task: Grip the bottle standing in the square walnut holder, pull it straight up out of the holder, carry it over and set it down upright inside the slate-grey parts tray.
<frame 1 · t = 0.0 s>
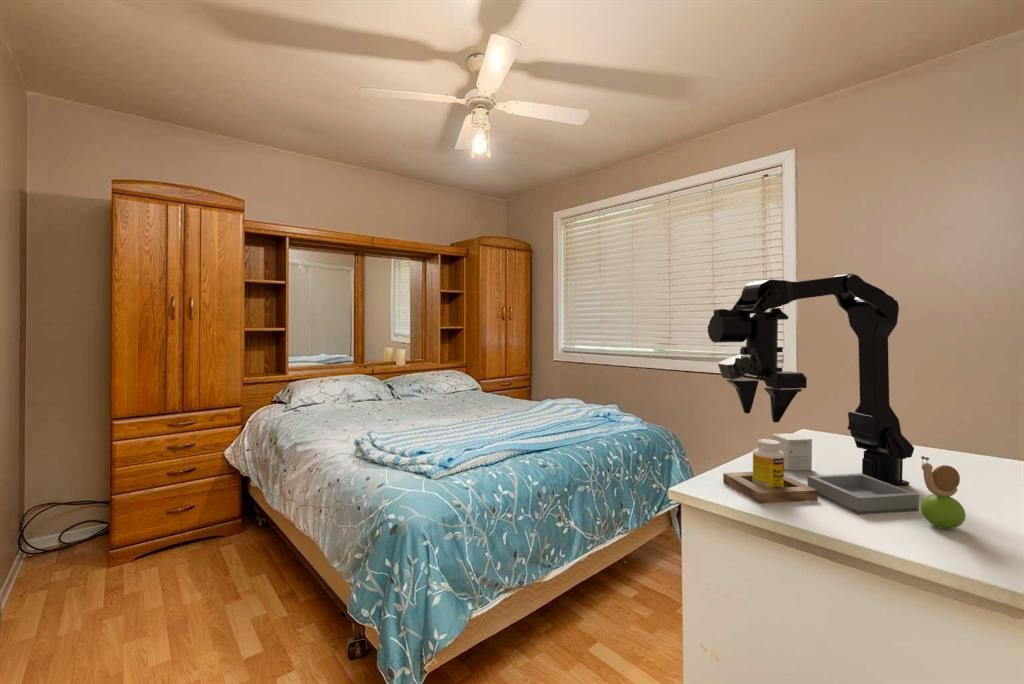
hand: (760, 417, 95), 15 cm above the table, tool pointing down, fingers open, 9 cm apart
product box: (790, 467, 110), on the table
supplement bottle: (767, 491, 94), resting in socket holder
parts tray: (859, 500, 89), on the table
socket holder: (767, 490, 94), on the table
snail figurine: (939, 528, 77), on the table
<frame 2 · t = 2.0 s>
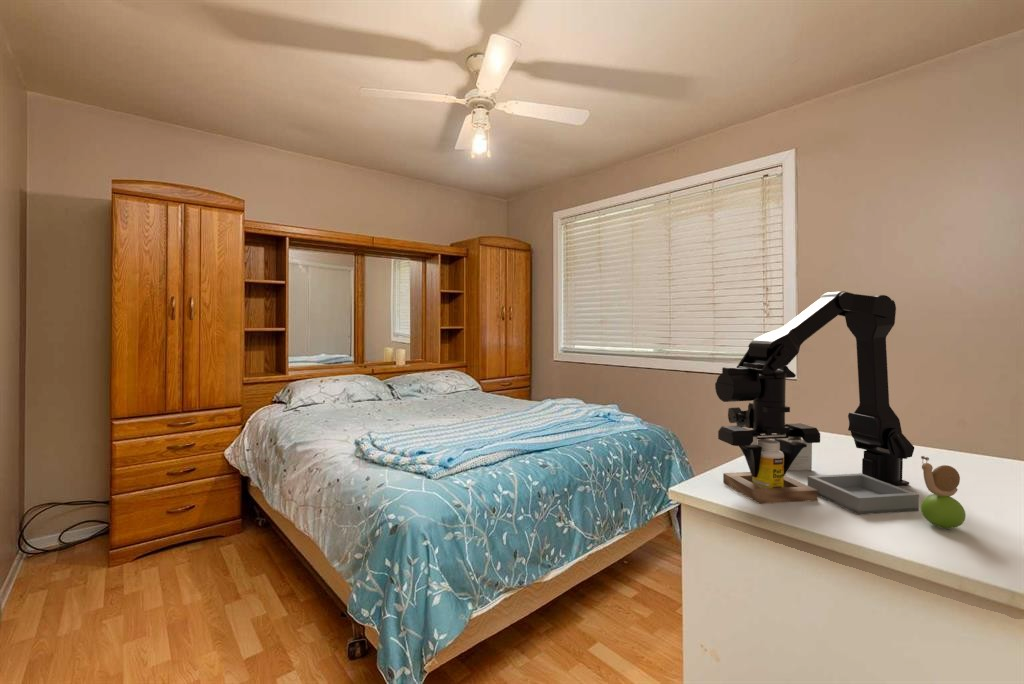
hand: (767, 476, 94), 3 cm above the table, tool pointing down, fingers closed on supplement bottle, 5 cm apart
supplement bottle: (767, 491, 94), resting in socket holder, touching gripper
everything else where it was.
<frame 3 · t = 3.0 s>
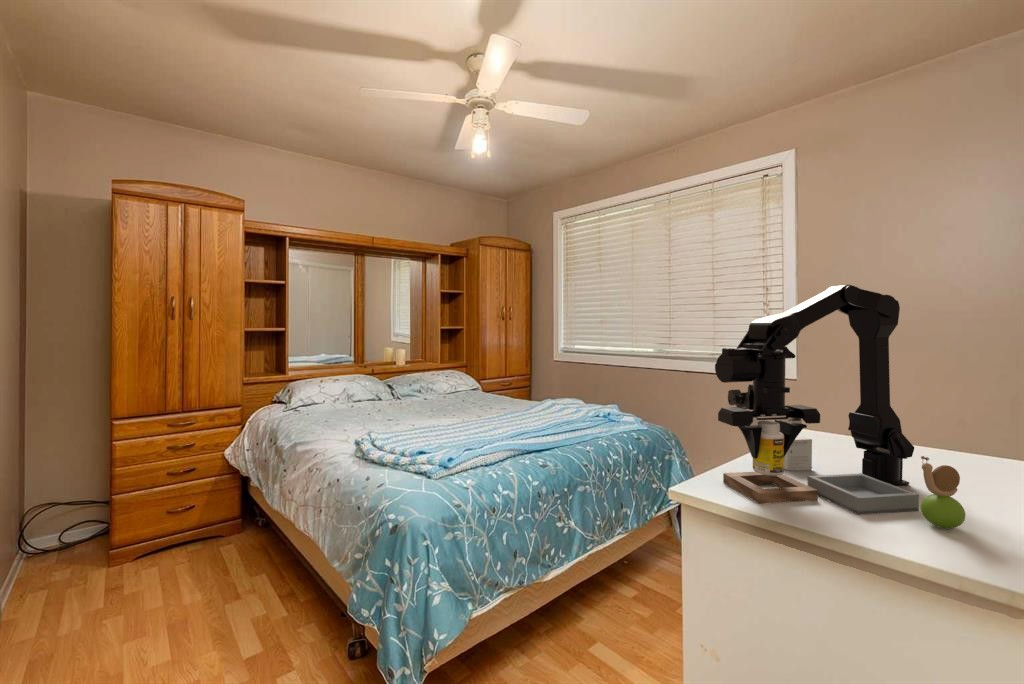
hand: (768, 457, 94), 7 cm above the table, tool pointing down, fingers closed on supplement bottle, 5 cm apart
supplement bottle: (767, 473, 94), point 4 cm above the table, touching gripper
everything else where it was.
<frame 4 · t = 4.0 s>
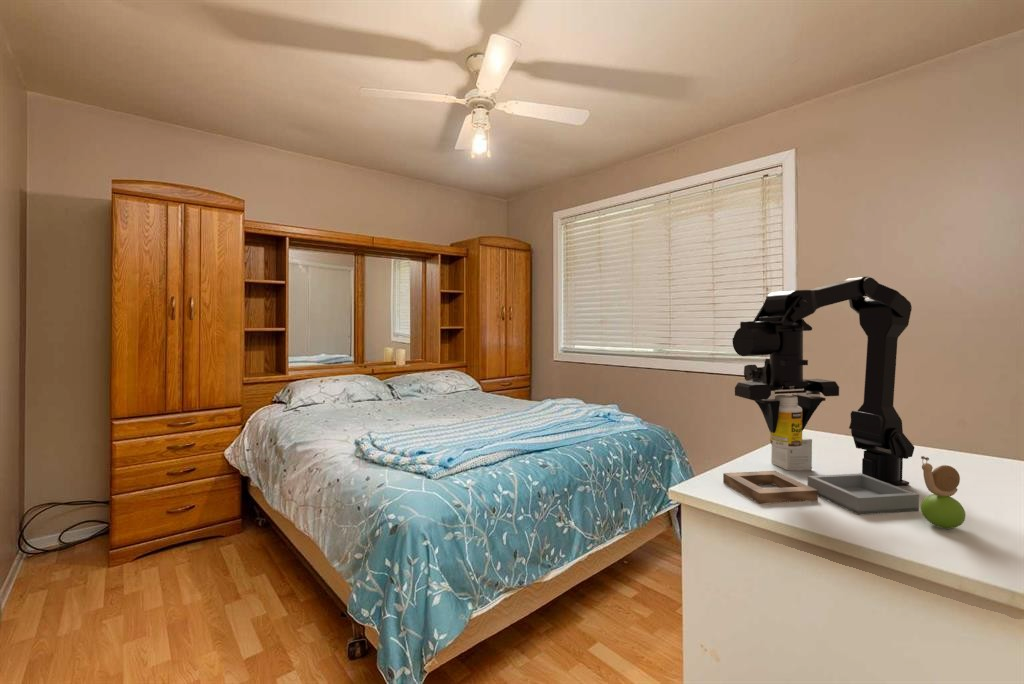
hand: (786, 431, 93), 12 cm above the table, tool pointing down, fingers closed on supplement bottle, 5 cm apart
supplement bottle: (786, 447, 93), point 9 cm above the table, touching gripper
everything else where it was.
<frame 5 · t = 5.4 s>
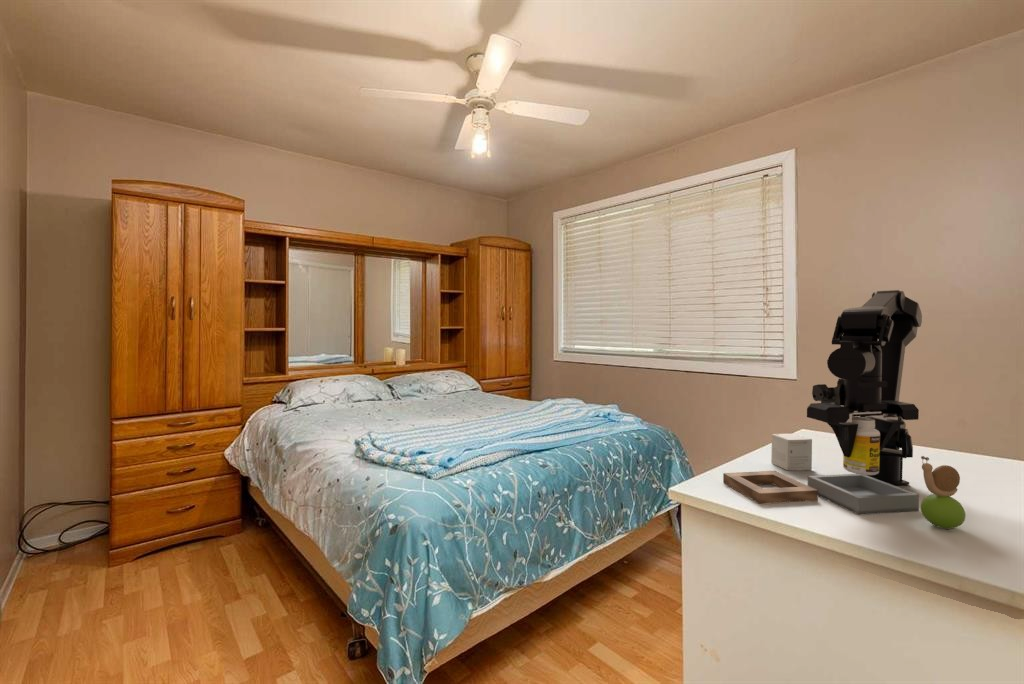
hand: (860, 455, 88), 9 cm above the table, tool pointing down, fingers closed on supplement bottle, 5 cm apart
supplement bottle: (860, 472, 88), point 5 cm above the table, touching gripper
everything else where it was.
when the fingers open (5 cm above the table, at t = 6.4 s): supplement bottle drops 2 cm, resting on parts tray.
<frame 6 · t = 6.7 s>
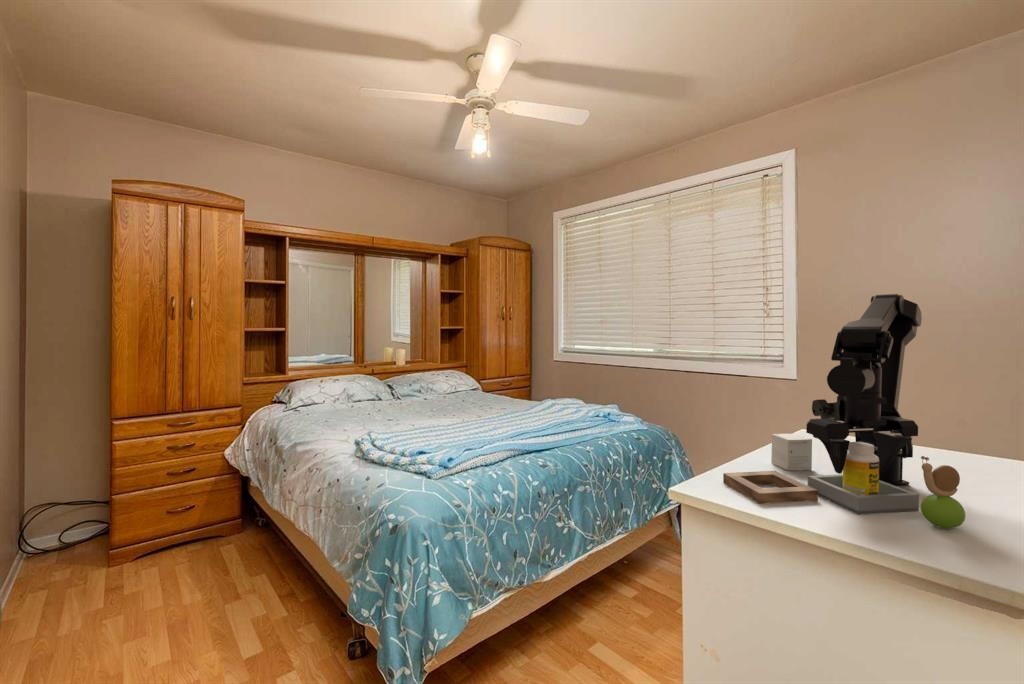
hand: (860, 471, 88), 5 cm above the table, tool pointing down, fingers open, 9 cm apart
supplement bottle: (860, 497, 89), resting on parts tray
everything else where it was.
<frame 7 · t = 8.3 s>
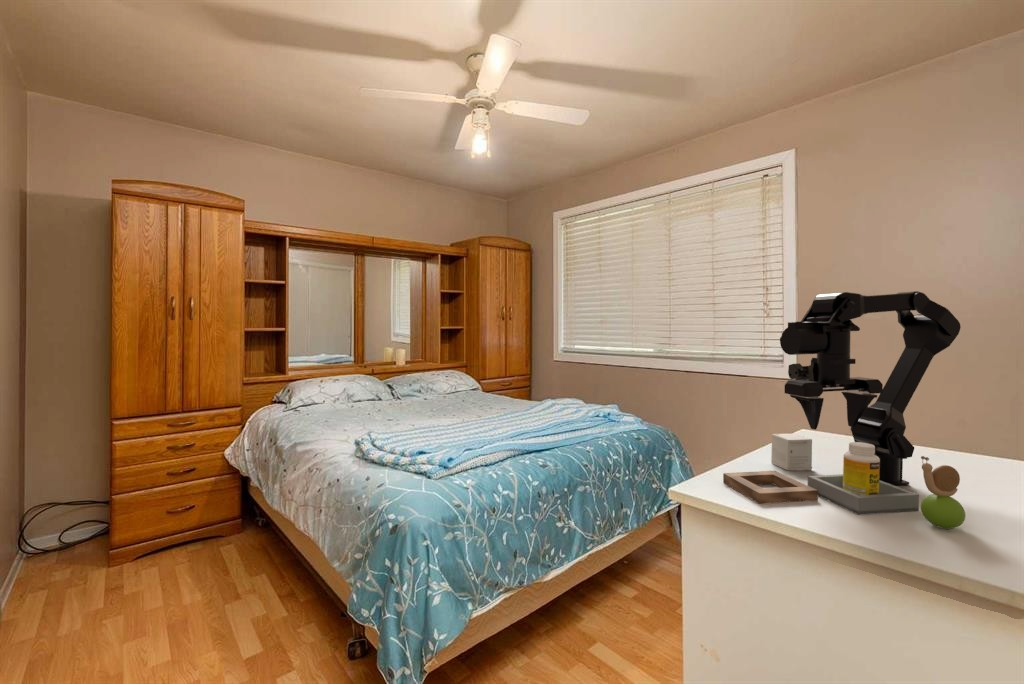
hand: (832, 427, 97), 12 cm above the table, tool pointing down, fingers open, 9 cm apart
nothing on the table moved.
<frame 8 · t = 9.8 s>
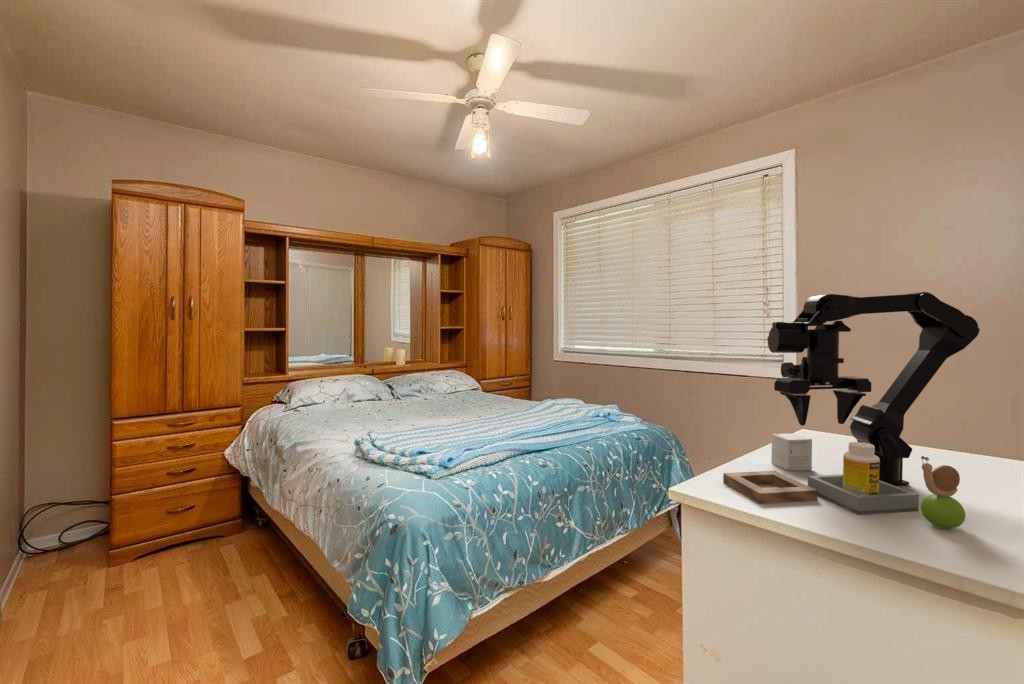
hand: (821, 424, 100), 12 cm above the table, tool pointing down, fingers open, 9 cm apart
nothing on the table moved.
at the end: supplement bottle 0.1 cm off-centre on the parts tray, point 0.4 cm above the parts tray's base; supplement bottle tilted 0°; the gripper is holding nothing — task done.
